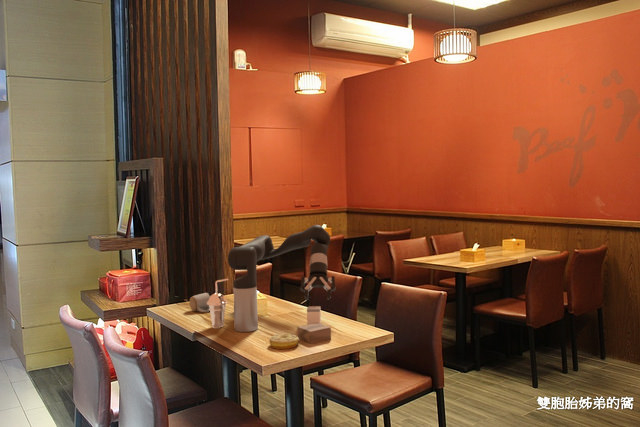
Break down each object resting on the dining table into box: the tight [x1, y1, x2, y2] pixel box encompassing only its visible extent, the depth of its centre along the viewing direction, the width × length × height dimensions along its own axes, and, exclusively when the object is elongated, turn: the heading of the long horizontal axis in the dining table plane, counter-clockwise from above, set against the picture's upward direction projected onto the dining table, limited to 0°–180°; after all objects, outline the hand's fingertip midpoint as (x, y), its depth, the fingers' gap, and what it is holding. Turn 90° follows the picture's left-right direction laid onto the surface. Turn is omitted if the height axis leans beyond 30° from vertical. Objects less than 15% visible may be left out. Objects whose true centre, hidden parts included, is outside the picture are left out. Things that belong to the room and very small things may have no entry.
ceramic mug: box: [188, 292, 211, 313], centre depth 266 cm, size 11×8×8 cm
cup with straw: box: [207, 278, 230, 329], centre depth 236 cm, size 8×9×20 cm
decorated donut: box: [268, 332, 300, 350], centre depth 208 cm, size 10×11×4 cm
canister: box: [306, 305, 322, 325], centre depth 227 cm, size 5×5×9 cm
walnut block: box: [296, 323, 332, 344], centre depth 215 cm, size 9×9×4 cm
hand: (317, 299), depth 234 cm, fingers open, 8 cm apart
